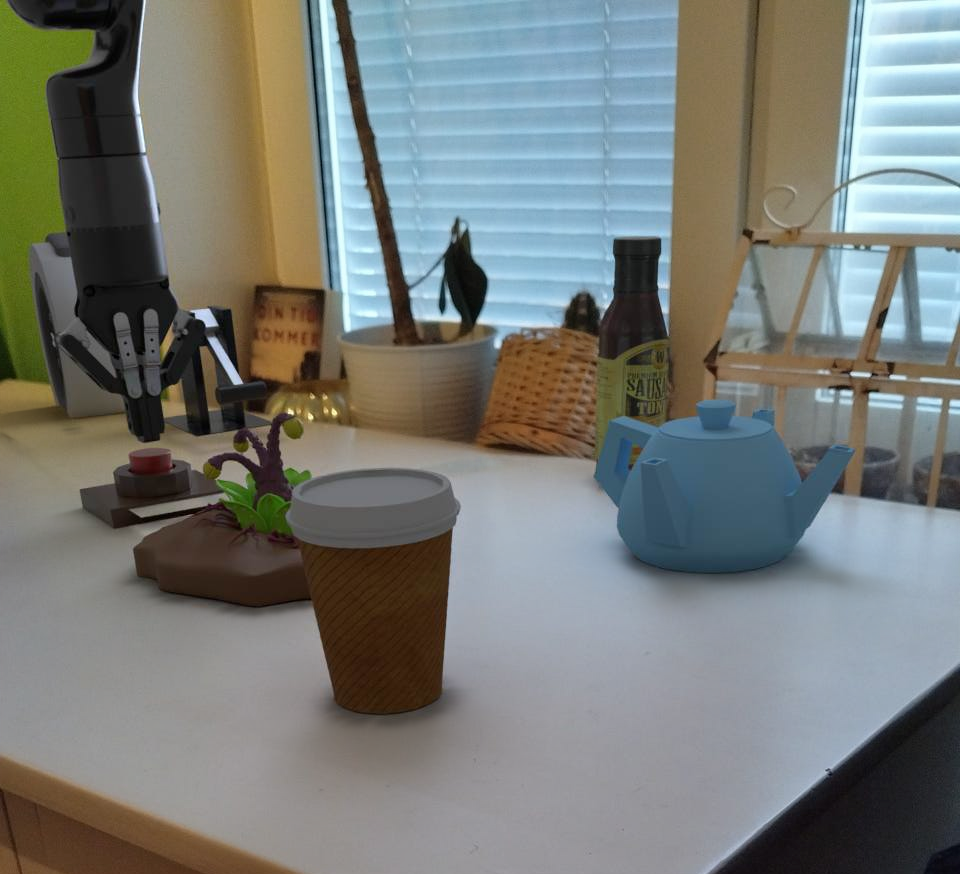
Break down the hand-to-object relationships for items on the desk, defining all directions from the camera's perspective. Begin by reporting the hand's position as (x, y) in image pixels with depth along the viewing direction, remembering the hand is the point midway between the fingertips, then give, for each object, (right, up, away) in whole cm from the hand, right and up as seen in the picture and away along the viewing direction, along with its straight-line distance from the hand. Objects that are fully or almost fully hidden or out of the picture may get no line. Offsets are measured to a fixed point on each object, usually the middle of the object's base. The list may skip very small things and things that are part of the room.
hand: (148, 440), depth 114 cm
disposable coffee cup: (+23, -27, -37) cm, 51 cm away
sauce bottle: (+42, -2, +5) cm, 43 cm away
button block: (0, -5, +3) cm, 6 cm away
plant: (+14, -14, -13) cm, 24 cm away
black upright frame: (0, +10, +30) cm, 31 cm away
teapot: (+46, -13, -15) cm, 51 cm away
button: (0, -2, +1) cm, 3 cm away
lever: (+2, +15, +23) cm, 28 cm away
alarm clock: (-17, +16, +42) cm, 48 cm away
